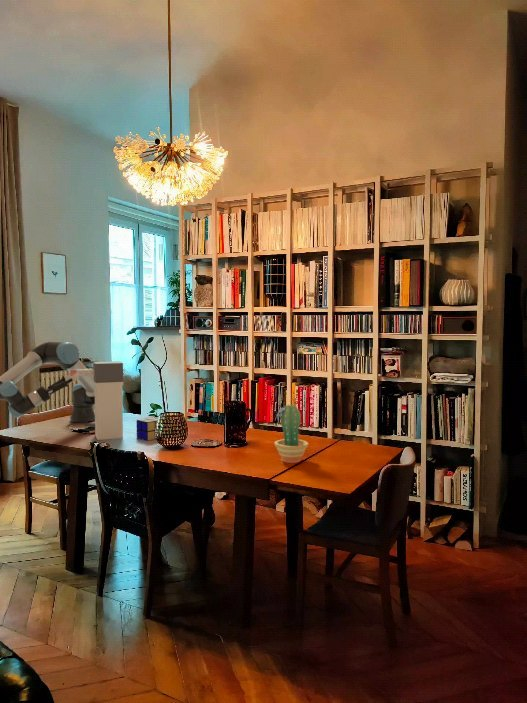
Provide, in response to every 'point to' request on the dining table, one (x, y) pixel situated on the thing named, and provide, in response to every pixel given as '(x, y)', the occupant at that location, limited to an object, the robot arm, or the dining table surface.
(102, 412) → the socket stand
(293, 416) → the potted cactus
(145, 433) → the puzzle cube
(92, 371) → the plug rod
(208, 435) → the dining table surface
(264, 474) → the dining table surface
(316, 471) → the dining table surface
